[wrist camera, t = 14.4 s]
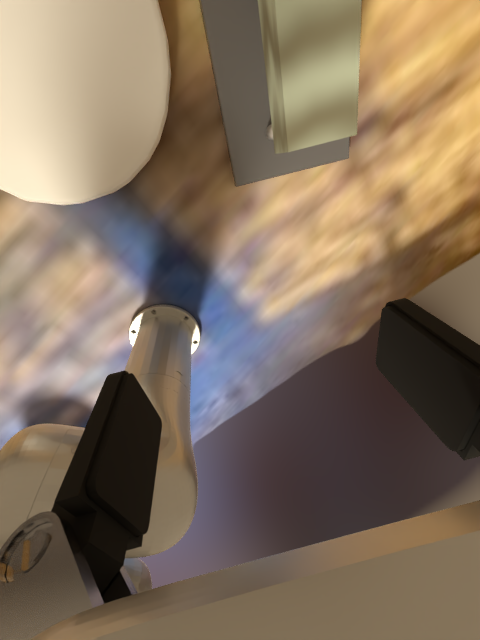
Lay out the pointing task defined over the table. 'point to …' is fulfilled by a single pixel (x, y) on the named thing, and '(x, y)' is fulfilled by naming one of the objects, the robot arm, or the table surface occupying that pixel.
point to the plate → (79, 95)
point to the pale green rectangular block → (311, 69)
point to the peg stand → (251, 96)
